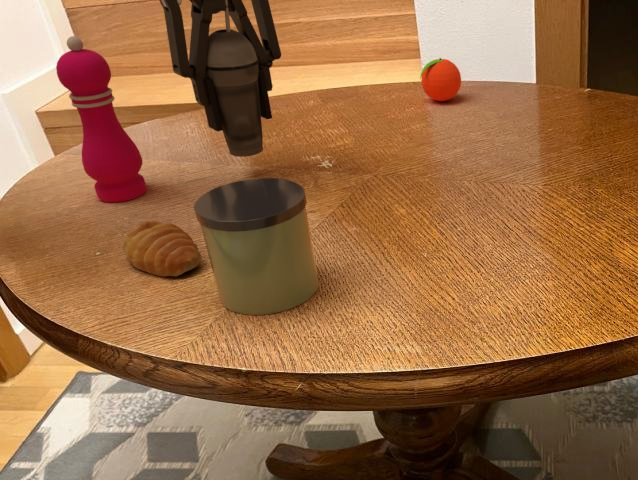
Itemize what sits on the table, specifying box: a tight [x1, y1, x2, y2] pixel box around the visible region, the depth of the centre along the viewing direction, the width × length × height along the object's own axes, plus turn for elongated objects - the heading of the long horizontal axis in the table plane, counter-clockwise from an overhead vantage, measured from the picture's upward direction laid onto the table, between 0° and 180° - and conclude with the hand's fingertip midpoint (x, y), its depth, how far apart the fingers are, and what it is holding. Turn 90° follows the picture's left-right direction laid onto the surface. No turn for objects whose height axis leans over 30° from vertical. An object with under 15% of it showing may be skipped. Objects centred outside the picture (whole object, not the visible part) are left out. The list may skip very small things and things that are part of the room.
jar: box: [193, 177, 319, 316], centre depth 72 cm, size 10×10×10 cm
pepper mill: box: [55, 35, 148, 203], centre depth 93 cm, size 7×7×20 cm
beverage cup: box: [205, 0, 264, 158], centre depth 95 cm, size 7×7×20 cm
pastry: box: [122, 220, 202, 277], centre depth 80 cm, size 9×7×4 cm
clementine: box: [419, 57, 462, 102], centre depth 126 cm, size 8×7×7 cm
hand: (240, 122), depth 98 cm, fingers closed on beverage cup, 6 cm apart
